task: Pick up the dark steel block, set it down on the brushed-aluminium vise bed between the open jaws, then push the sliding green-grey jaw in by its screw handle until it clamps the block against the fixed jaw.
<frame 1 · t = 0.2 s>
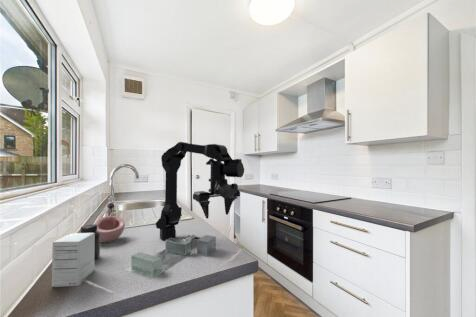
hand: (217, 216, 78), 14 cm above the counter, fingers open, 9 cm apart
supplement box: (74, 280, 59), on the counter
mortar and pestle: (108, 241, 89), on the counter
steel block: (206, 254, 76), on the counter
sliding jaw: (185, 242, 80), point 3 cm above the counter, slide at 0.0 cm
vise: (163, 262, 70), on the counter
supplement bottle: (88, 260, 72), on the counter
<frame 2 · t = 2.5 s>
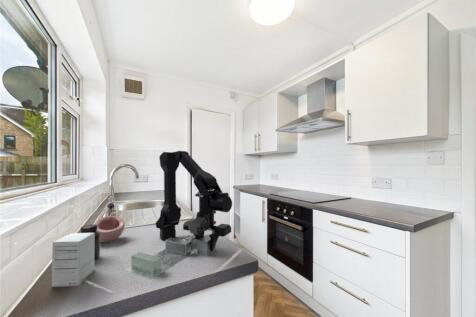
hand: (206, 249, 76), 2 cm above the counter, fingers closed on steel block, 4 cm apart
steel block: (206, 253, 76), on the counter, touching gripper
everything else where it was.
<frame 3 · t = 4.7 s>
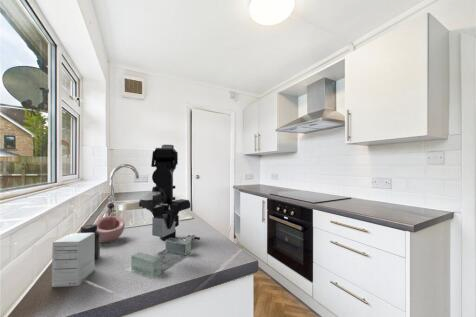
hand: (164, 228, 70), 12 cm above the counter, fingers closed on steel block, 4 cm apart
steel block: (163, 233, 70), point 10 cm above the counter, touching gripper
everything else where it was.
when the fingers open (3 cm above the counter, at t = 7.1 s): steel block stays where it is, resting on vise.
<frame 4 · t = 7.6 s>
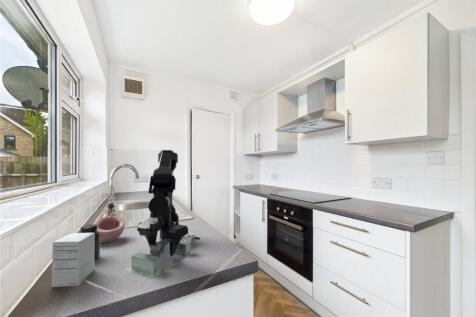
hand: (161, 253, 69), 3 cm above the counter, fingers open, 9 cm apart
steel block: (161, 260, 69), point 1 cm above the counter, touching vise
everything else where it was.
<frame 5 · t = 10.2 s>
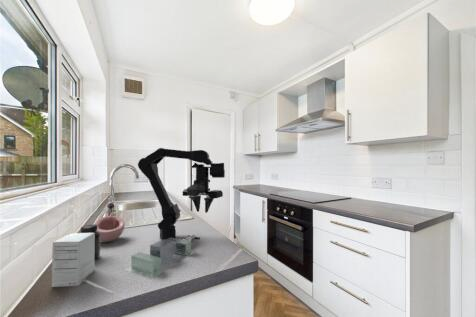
hand: (202, 212, 91), 12 cm above the counter, fingers open, 4 cm apart
nothing on the counter moved.
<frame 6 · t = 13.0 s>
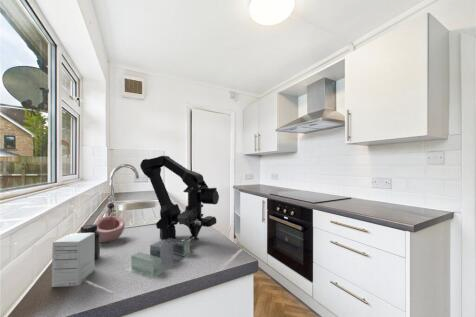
hand: (194, 239, 85), 2 cm above the counter, fingers closed
sliding jaw: (183, 242, 79), point 3 cm above the counter, slide at 0.8 cm, touching gripper
everything else where it was.
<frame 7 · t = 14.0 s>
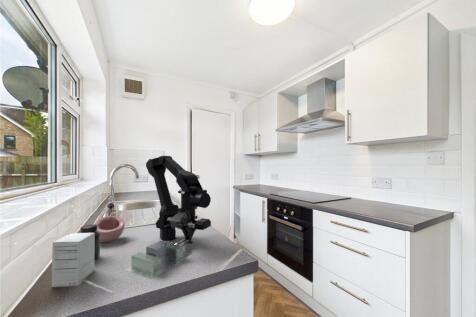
hand: (188, 242, 82), 2 cm above the counter, fingers closed, pressing on sliding jaw
steel block: (158, 262, 68), point 1 cm above the counter, touching sliding jaw, vise
sliding jaw: (176, 246, 76), point 3 cm above the counter, slide at 4.8 cm, touching gripper, steel block
everything else where it was.
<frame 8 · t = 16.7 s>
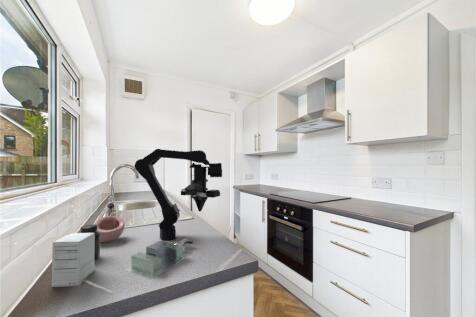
hand: (200, 211, 92), 12 cm above the counter, fingers closed
sliding jaw: (176, 246, 76), point 3 cm above the counter, slide at 4.8 cm, touching steel block
everything else where it was.
at the end: steel block inside the target area on the vise (0.1 cm from its centre), point 0.8 cm above the vise's base; steel block tilted 0°; sliding jaw slide at 4.8 cm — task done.
